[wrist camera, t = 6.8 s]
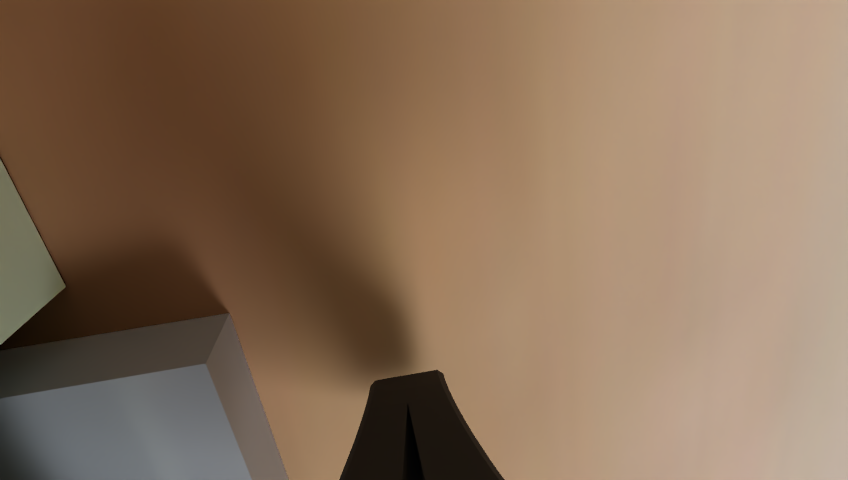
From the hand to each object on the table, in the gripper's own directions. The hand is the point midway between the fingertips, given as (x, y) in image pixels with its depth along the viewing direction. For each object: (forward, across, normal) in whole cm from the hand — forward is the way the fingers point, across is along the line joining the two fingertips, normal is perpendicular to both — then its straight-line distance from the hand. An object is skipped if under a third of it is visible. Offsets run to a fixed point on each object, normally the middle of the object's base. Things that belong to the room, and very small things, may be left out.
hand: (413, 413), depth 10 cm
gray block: (+2, +7, 0) cm, 7 cm away
